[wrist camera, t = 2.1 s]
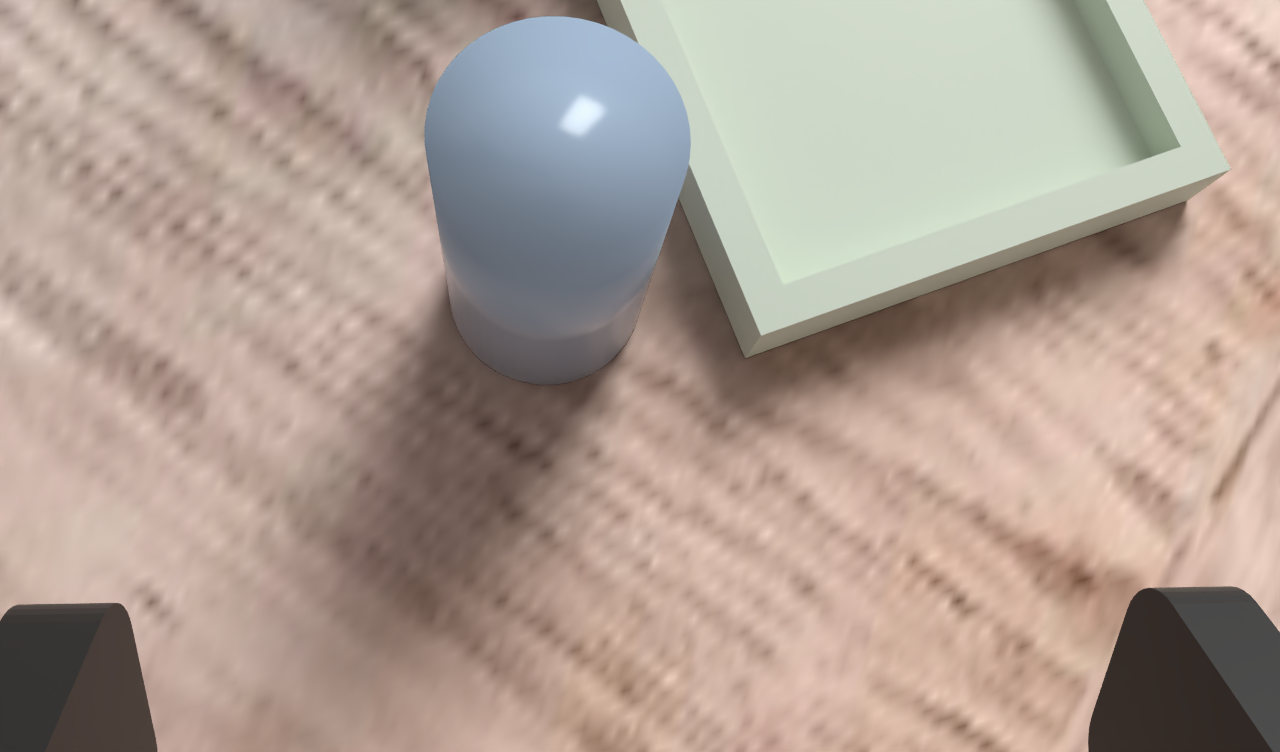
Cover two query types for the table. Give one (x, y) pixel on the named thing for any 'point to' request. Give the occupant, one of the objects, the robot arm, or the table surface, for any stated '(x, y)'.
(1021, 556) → the table surface
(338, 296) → the table surface
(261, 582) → the table surface
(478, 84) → the dome-topped blue cylinder
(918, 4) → the sage tray
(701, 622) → the table surface
